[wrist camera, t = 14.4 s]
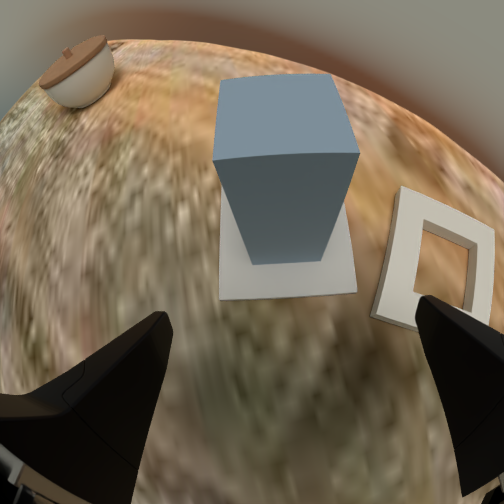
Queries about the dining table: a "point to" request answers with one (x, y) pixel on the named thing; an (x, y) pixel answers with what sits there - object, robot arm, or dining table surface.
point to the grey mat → (283, 267)
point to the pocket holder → (407, 254)
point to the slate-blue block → (284, 162)
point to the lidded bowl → (80, 74)
